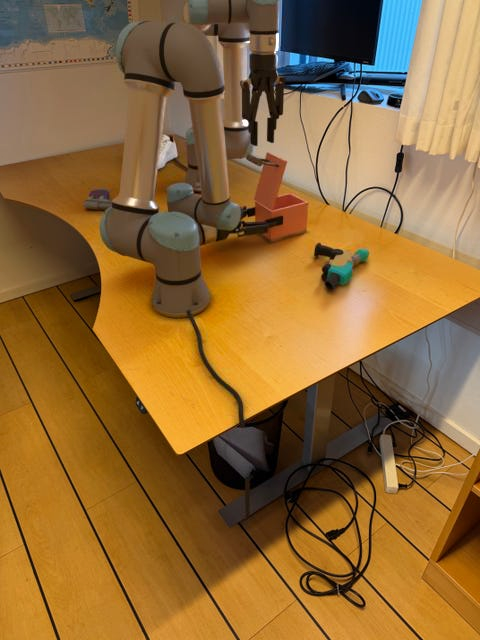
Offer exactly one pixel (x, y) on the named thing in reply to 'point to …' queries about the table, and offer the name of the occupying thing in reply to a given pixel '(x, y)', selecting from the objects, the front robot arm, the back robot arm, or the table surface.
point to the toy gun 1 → (98, 200)
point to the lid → (268, 178)
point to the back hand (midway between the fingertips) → (262, 143)
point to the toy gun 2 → (339, 264)
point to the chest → (284, 217)
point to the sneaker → (167, 150)
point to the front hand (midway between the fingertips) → (273, 214)
